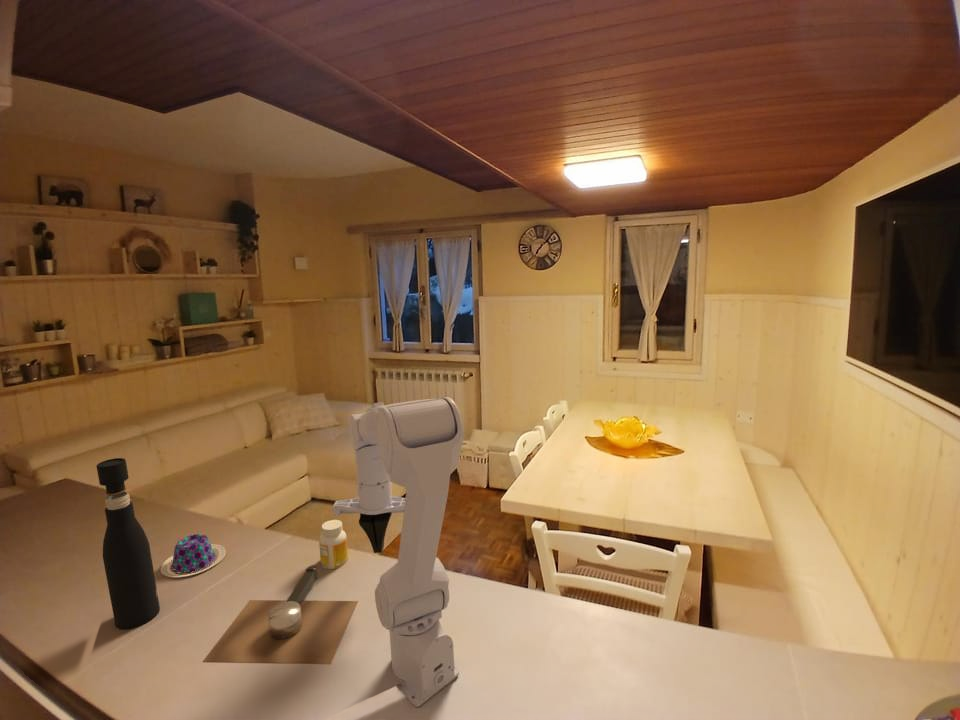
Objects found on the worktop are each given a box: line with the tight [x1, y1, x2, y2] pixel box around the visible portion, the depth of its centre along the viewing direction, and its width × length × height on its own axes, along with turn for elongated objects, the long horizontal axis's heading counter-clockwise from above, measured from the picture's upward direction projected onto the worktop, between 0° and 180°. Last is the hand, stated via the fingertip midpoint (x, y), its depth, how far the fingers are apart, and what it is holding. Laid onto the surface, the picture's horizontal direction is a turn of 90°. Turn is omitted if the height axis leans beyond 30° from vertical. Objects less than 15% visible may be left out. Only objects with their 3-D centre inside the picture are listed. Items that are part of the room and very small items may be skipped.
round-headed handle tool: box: [268, 565, 319, 639], centre depth 84 cm, size 15×5×3 cm, turn 178°
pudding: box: [160, 533, 227, 578], centre depth 102 cm, size 12×12×5 cm
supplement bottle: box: [318, 519, 349, 570], centre depth 98 cm, size 5×5×10 cm
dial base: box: [202, 599, 359, 665], centre depth 80 cm, size 20×14×2 cm
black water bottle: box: [96, 457, 161, 631], centre depth 81 cm, size 6×6×30 cm
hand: (378, 549), depth 86 cm, fingers closed
